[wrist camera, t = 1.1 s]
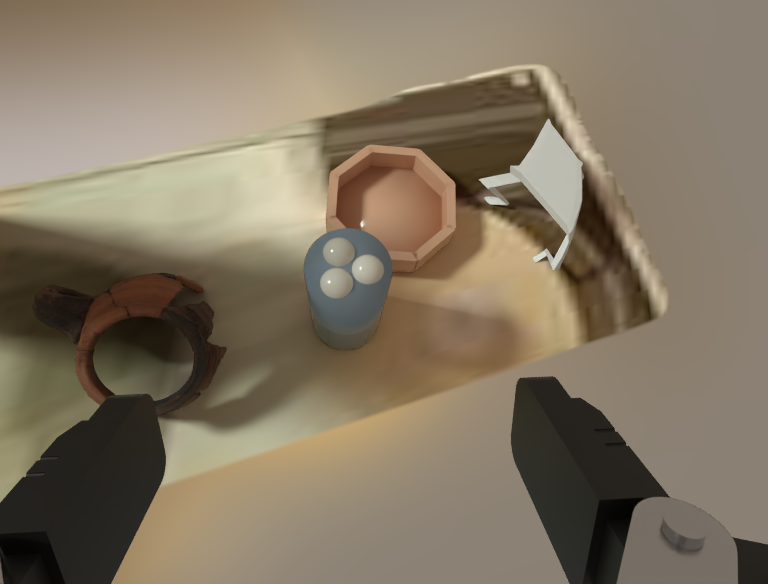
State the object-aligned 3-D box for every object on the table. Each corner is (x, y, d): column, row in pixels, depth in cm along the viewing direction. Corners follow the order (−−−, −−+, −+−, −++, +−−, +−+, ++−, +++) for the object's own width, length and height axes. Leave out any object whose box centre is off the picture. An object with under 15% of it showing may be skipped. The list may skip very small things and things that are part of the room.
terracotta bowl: (323, 267, 38) (322, 254, 35) (333, 159, 41) (332, 141, 39) (449, 276, 38) (456, 264, 36) (448, 169, 42) (454, 152, 39)
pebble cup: (309, 348, 35) (298, 303, 26) (315, 285, 37) (307, 220, 27) (377, 352, 36) (392, 309, 26) (379, 289, 38) (395, 226, 28)
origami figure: (458, 167, 42) (473, 130, 37) (542, 146, 44) (566, 108, 39) (513, 290, 39) (536, 266, 34) (602, 262, 40) (636, 237, 36)
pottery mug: (246, 286, 37) (238, 309, 29) (212, 398, 38) (195, 449, 30) (76, 238, 34) (17, 249, 26) (44, 362, 35) (-23, 408, 27)
